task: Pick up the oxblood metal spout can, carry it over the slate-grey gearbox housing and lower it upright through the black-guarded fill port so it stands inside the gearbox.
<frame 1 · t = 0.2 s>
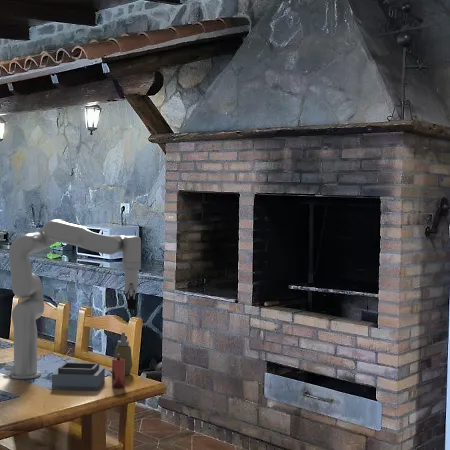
hand: (131, 307, 292), 30 cm above the table, fingers open, 9 cm apart
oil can: (118, 386, 283), on the table
squeeze bottle: (122, 374, 302), on the table
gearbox: (78, 385, 284), on the table
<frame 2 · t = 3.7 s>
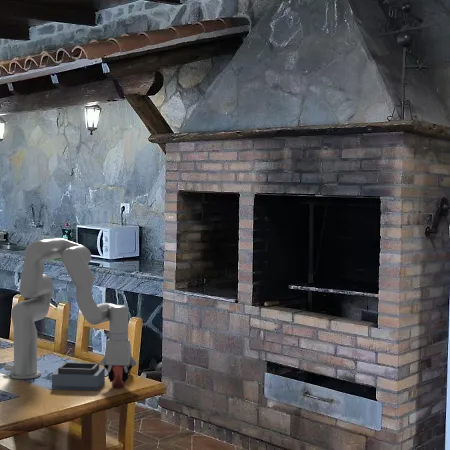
hand: (118, 380, 283), 2 cm above the table, fingers closed on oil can, 5 cm apart
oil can: (118, 386, 283), on the table, touching gripper
everything else where it was.
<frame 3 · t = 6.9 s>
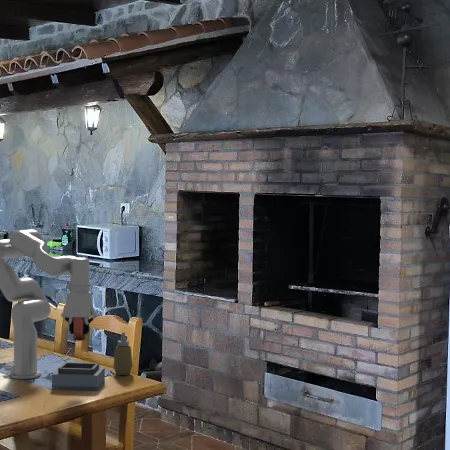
hand: (79, 333, 283), 21 cm above the table, fingers closed on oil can, 5 cm apart
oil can: (79, 339, 283), point 19 cm above the table, touching gripper
everything else where it was.
when the fingers open (6 cm above the table, at t = 10.4 s): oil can drops 2 cm, resting on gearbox.
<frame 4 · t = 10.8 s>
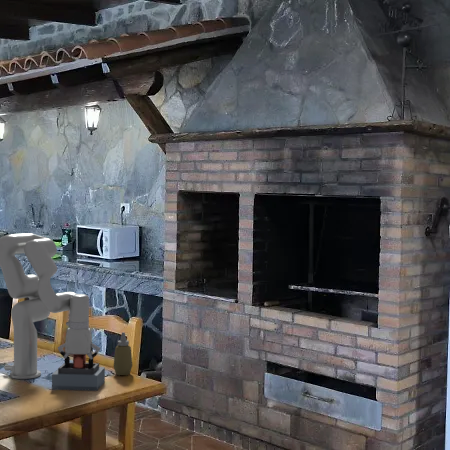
hand: (78, 367, 284), 7 cm above the table, fingers open, 8 cm apart
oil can: (79, 381, 284), point 2 cm above the table, touching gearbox
everything else where it was.
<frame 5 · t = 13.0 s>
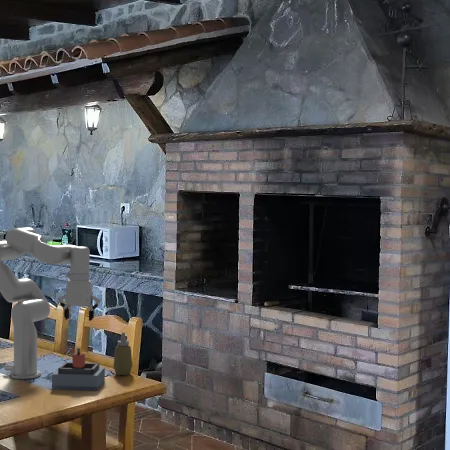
hand: (78, 319, 284), 26 cm above the table, fingers open, 9 cm apart
nothing on the table moved.
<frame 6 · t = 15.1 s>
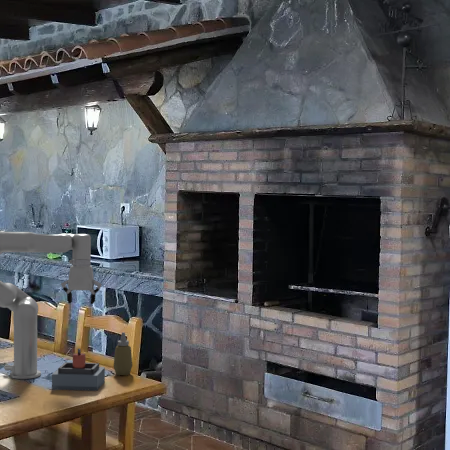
hand: (81, 303, 301), 30 cm above the table, fingers open, 9 cm apart
nothing on the table moved.
at the end: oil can 0.0 cm off-centre on the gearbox, point 1.5 cm above the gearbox's base; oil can tilted 0°; the gripper is holding nothing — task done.
